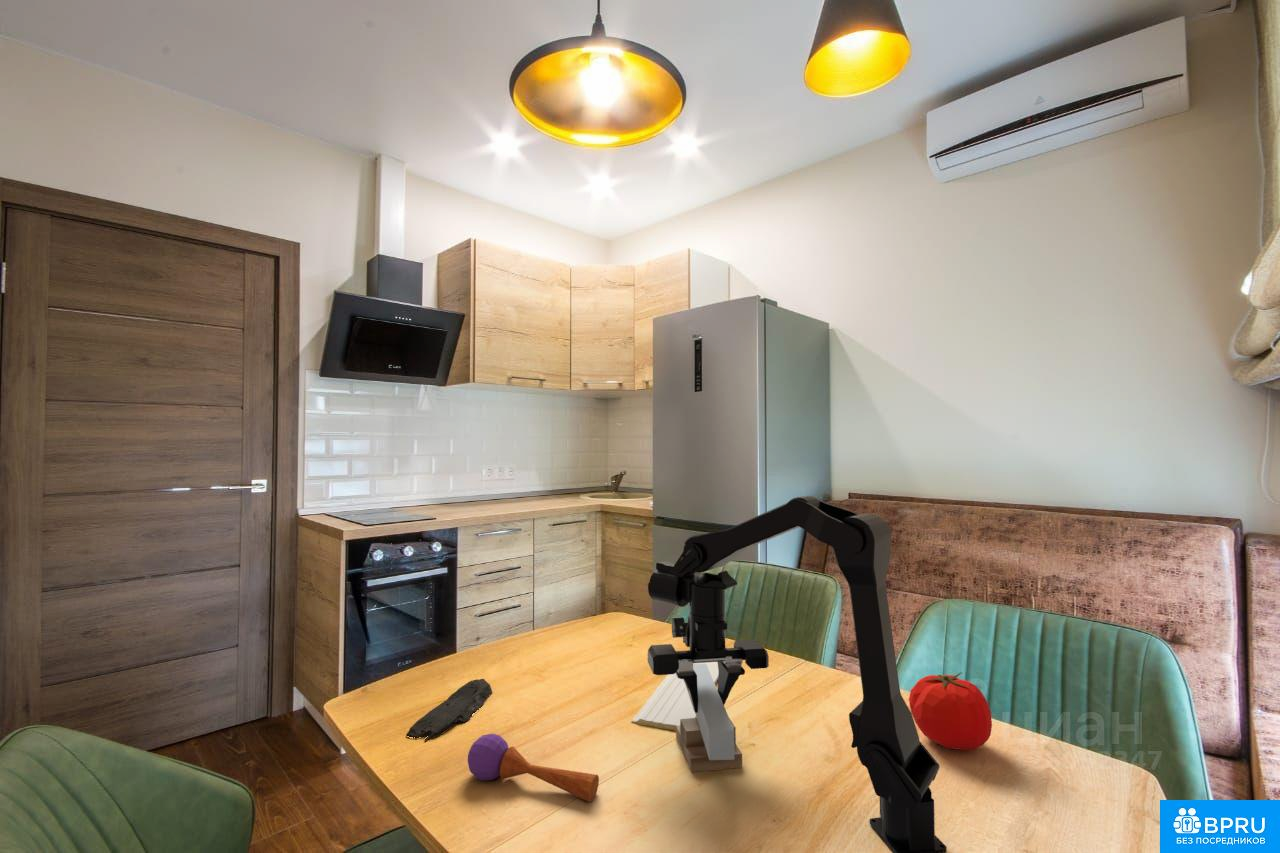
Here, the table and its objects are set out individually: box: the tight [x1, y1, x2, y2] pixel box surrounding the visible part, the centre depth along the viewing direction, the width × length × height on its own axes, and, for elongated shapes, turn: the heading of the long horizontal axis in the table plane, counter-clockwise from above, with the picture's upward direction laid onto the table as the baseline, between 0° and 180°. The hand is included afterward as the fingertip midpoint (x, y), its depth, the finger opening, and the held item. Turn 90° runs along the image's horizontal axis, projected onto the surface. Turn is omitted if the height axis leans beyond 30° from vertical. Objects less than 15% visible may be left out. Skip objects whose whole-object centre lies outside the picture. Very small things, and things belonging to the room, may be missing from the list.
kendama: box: [467, 733, 600, 803], centre depth 80 cm, size 6×6×20 cm
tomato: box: [908, 671, 993, 751], centre depth 92 cm, size 12×12×11 cm
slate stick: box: [693, 664, 734, 760], centre depth 89 cm, size 24×4×4 cm, turn 3°
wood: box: [405, 678, 493, 742], centre depth 103 cm, size 22×7×3 cm, turn 165°
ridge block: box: [675, 717, 743, 773], centre depth 89 cm, size 10×8×4 cm
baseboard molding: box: [631, 662, 719, 731], centre depth 112 cm, size 31×3×12 cm
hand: (707, 710), depth 89 cm, fingers closed on slate stick, 4 cm apart
